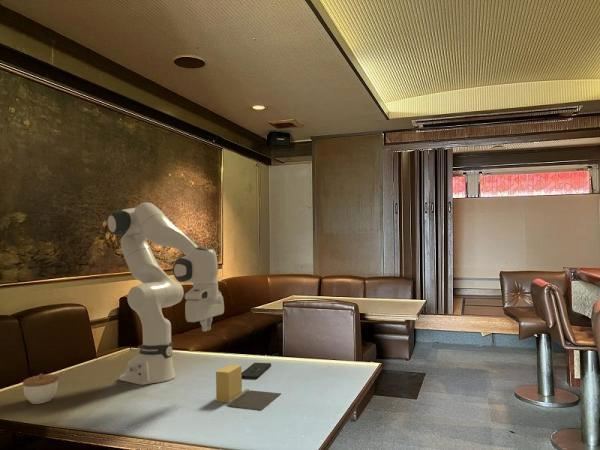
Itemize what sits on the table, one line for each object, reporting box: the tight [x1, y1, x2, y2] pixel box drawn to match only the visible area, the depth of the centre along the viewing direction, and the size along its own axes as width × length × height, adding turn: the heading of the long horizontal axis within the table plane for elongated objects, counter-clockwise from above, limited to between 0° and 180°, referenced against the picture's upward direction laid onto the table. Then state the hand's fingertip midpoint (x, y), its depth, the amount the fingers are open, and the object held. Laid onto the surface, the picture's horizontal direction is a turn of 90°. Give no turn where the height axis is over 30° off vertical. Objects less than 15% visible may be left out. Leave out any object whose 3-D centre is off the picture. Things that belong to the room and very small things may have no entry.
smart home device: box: [241, 362, 272, 380], centre depth 184 cm, size 8×2×20 cm
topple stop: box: [226, 388, 282, 411], centre depth 150 cm, size 13×16×1 cm
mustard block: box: [215, 364, 243, 403], centre depth 154 cm, size 5×9×10 cm, turn 160°
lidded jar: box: [22, 373, 59, 405], centre depth 155 cm, size 11×11×9 cm
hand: (206, 330), depth 158 cm, fingers closed
